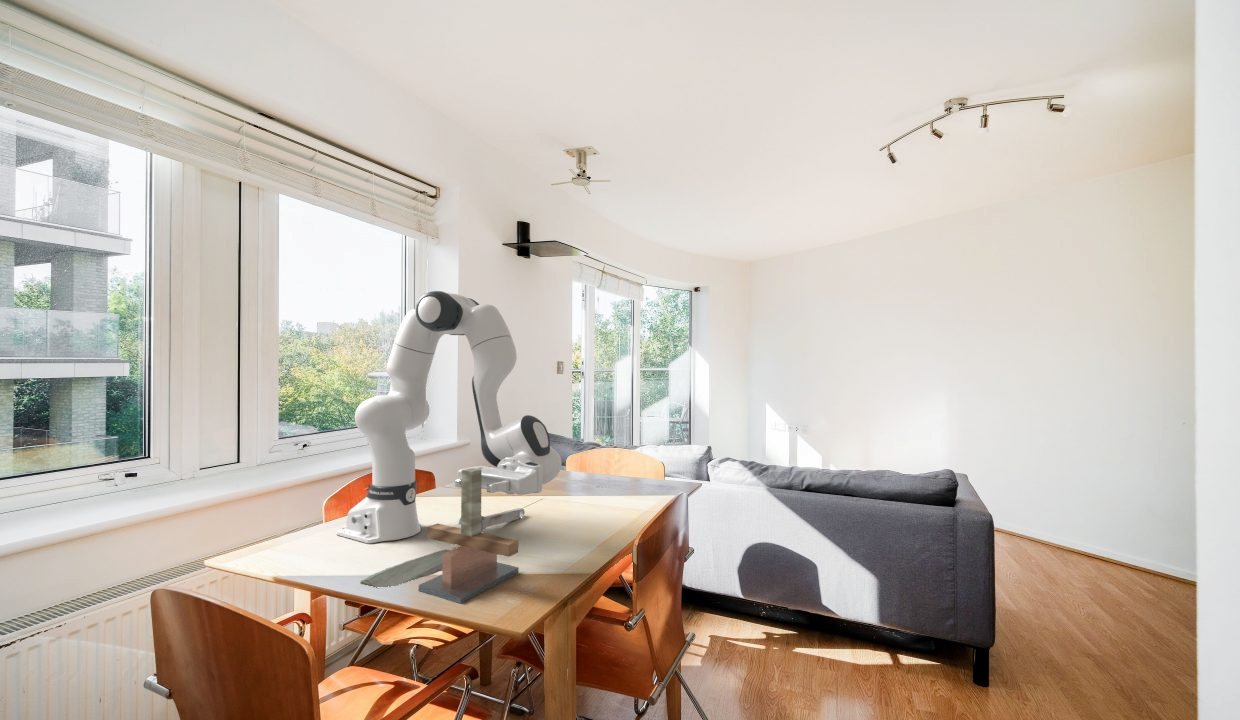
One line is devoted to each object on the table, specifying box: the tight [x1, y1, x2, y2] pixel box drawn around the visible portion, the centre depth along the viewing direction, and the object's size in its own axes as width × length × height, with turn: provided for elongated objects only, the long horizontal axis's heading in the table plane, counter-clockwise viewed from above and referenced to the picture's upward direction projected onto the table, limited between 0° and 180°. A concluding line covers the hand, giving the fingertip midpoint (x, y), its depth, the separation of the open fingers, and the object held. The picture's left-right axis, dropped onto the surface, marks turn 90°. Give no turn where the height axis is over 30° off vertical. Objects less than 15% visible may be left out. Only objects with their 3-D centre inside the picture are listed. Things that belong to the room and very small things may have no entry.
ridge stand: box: [418, 546, 520, 604], centre depth 118 cm, size 12×18×8 cm, turn 151°
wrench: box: [458, 507, 526, 533], centre depth 155 cm, size 8×2×30 cm
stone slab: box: [360, 548, 451, 589], centre depth 124 cm, size 22×3×10 cm
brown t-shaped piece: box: [426, 468, 519, 558], centre depth 118 cm, size 24×3×16 cm, turn 61°
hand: (472, 486), depth 119 cm, fingers open, 8 cm apart
